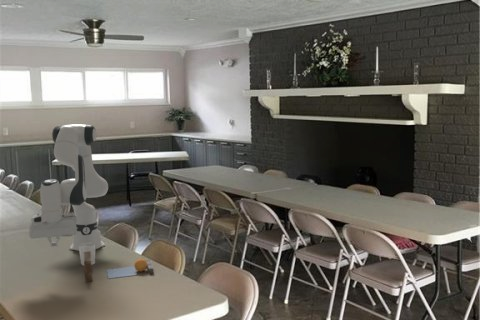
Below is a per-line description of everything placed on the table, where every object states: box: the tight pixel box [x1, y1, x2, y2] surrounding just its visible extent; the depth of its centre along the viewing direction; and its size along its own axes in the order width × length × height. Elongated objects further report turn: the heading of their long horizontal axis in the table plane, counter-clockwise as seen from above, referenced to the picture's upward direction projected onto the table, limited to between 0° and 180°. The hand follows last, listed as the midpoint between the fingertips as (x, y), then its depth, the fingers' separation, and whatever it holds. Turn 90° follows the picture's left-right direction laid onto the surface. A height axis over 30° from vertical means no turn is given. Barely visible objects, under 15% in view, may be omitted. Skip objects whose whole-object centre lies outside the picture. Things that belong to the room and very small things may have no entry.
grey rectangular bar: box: [145, 259, 155, 275], centre depth 248 cm, size 14×2×2 cm, turn 17°
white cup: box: [78, 242, 96, 266], centre depth 258 cm, size 8×8×10 cm
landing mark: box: [106, 266, 138, 280], centre depth 244 cm, size 13×13×1 cm
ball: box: [133, 258, 147, 272], centre depth 245 cm, size 6×6×6 cm
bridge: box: [83, 251, 93, 283], centre depth 239 cm, size 3×15×10 cm, turn 17°
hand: (54, 246), depth 234 cm, fingers closed
